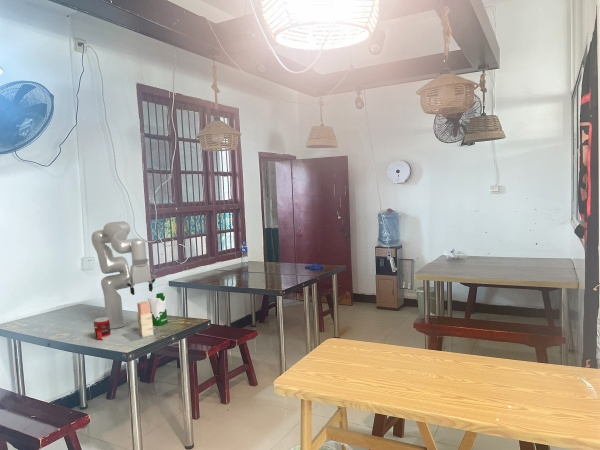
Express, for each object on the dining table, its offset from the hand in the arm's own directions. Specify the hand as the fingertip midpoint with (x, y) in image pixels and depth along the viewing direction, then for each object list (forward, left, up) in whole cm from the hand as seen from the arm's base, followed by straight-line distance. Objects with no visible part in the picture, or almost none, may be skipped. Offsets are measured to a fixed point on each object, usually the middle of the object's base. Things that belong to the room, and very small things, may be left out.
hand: (141, 292), depth 240 cm
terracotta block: (0, 0, -12) cm, 12 cm away
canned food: (-18, -18, -25) cm, 36 cm away
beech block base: (+1, 0, -24) cm, 24 cm away
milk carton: (-14, +13, -25) cm, 32 cm away
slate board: (-2, -2, -25) cm, 25 cm away
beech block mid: (+1, 0, -18) cm, 18 cm away
